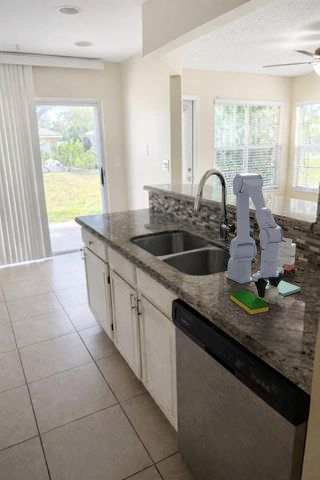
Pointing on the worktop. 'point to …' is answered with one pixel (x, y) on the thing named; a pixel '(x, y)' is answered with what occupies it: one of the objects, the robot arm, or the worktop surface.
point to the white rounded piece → (271, 294)
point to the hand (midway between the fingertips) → (266, 295)
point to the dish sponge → (249, 302)
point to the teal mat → (286, 288)
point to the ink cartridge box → (286, 254)
